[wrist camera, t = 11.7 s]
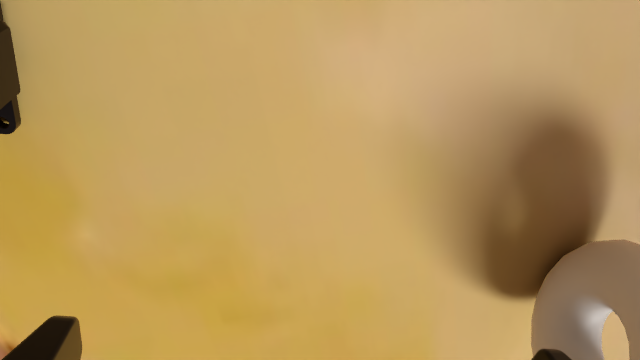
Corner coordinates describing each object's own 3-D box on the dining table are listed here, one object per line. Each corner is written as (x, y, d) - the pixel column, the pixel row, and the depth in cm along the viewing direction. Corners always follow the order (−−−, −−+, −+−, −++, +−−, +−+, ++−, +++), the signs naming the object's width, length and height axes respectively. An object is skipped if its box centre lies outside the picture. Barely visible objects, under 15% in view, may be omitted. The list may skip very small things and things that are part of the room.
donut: (577, 193, 23) (745, 378, 15) (638, 201, 24) (832, 384, 15) (496, 326, 28) (585, 516, 20) (547, 330, 29) (653, 516, 21)
